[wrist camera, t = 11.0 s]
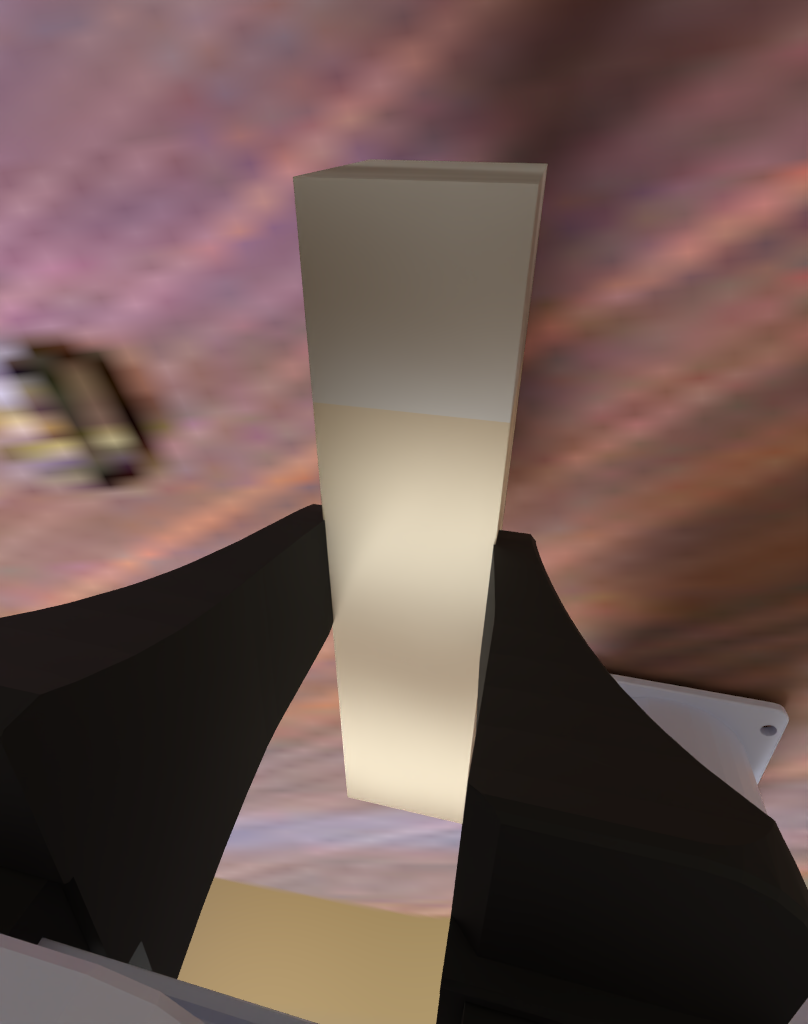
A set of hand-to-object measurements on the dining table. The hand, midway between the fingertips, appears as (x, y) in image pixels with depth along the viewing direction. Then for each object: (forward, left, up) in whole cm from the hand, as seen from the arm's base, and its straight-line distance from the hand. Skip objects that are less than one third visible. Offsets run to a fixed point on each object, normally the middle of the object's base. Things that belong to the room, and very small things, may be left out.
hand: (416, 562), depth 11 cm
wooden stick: (0, 0, -3) cm, 3 cm away
